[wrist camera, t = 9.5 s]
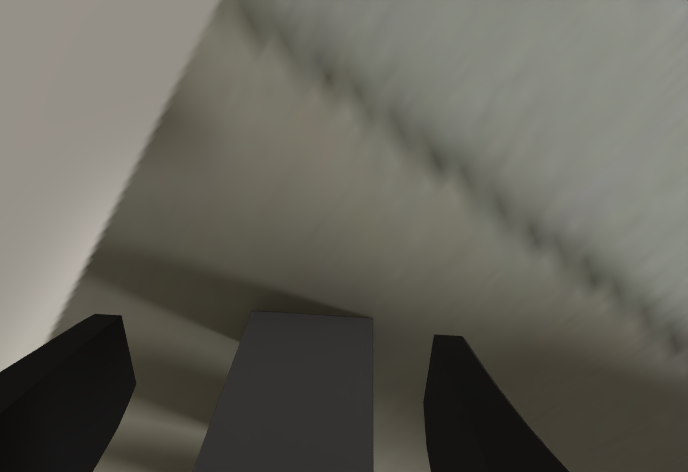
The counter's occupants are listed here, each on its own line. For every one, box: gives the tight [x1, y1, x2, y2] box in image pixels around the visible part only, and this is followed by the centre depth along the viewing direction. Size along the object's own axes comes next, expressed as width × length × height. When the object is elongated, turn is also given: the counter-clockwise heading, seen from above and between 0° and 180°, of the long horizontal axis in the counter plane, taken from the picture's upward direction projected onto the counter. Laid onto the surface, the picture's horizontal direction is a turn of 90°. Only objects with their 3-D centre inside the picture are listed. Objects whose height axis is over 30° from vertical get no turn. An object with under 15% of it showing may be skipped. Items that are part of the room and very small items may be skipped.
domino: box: [193, 311, 374, 472], centre depth 16 cm, size 2×5×9 cm, turn 88°
